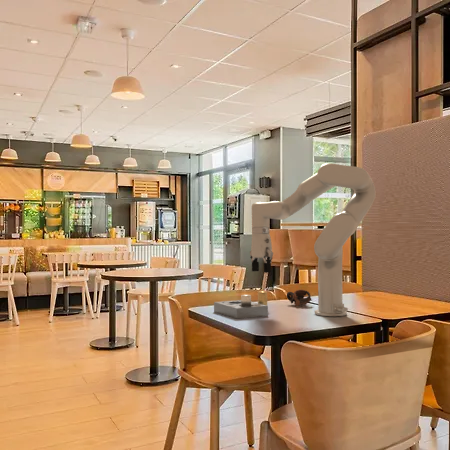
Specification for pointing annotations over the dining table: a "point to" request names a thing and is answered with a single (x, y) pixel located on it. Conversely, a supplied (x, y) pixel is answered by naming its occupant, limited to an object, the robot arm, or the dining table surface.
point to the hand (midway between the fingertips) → (261, 271)
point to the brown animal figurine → (299, 297)
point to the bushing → (262, 297)
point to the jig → (241, 308)
